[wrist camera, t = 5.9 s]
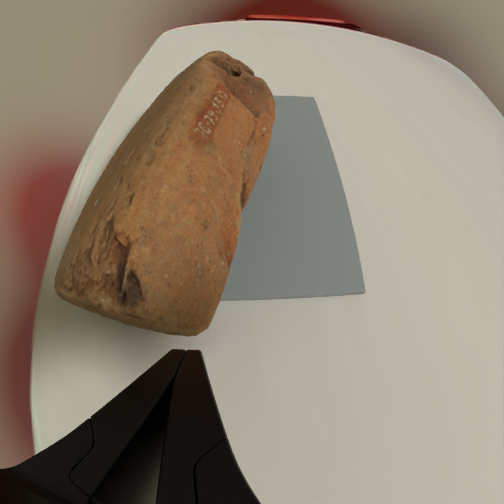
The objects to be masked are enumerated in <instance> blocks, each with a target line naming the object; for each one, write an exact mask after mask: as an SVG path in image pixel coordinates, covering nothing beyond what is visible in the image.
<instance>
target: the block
mask: <svg viewBox="0 0 504 504" xmlns="http://www.w3.org/2000/svg"><path fill="white" fill-rule="evenodd" d="M275 115H276V112H275V101H274V99H273V95H272V93H271V90H270V89H269V87H268V86H267V84H266V82H265V81H264V80H263V79H262V78H258V77H256V76H254V72H253V71H252V70H251V69H250V68H249V67H248V66H246V65H245V64H244V63H242V62H241V61H239V60H237V59H234V58H232V57H231V56H229V55H228V54H226V53H224V52H222V51H212V52H209V53H207V54H205V55H204V56H202V57H201V58H199V59H198V60H196V61H195V62H194V63H192V64H191V65H190V66H189V67H188V68H186V69H185V70H184V71H183V72H181V73H180V74H179V75H177V76H176V77H175V78H174V79H173V80H172V81H171V82H170V83H169V85H168V86H167V87H166V88H165V89H164V90H163V91H162V92H161V93H160V95H159V96H158V97H157V98H156V99H155V101H154V102H153V103H152V105H151V106H150V107H149V108H148V109H147V110H146V112H145V113H144V114H143V115H142V117H141V118H140V119H139V121H138V122H137V123H136V124H135V126H134V127H133V128H132V130H131V131H130V132H129V134H128V135H127V136H126V138H125V139H124V141H123V142H122V144H121V145H120V146H119V148H118V149H117V151H116V152H115V154H114V156H113V157H112V159H111V160H110V162H109V163H108V165H107V167H106V168H105V170H104V172H103V174H102V175H101V177H100V179H99V180H98V182H97V184H96V186H95V187H94V189H93V191H92V193H91V195H90V196H89V198H88V200H87V202H86V204H85V206H84V208H83V211H82V213H81V215H80V217H79V219H78V221H77V223H76V225H75V227H74V229H73V232H72V234H71V236H70V239H69V241H68V244H67V246H66V249H65V251H64V254H63V257H62V259H61V262H60V265H59V268H58V271H57V275H56V278H55V285H54V287H55V291H56V293H57V295H58V296H59V297H61V298H62V299H63V300H66V301H68V302H69V303H72V304H74V305H76V306H79V307H82V308H84V309H86V310H89V311H92V312H94V313H97V314H99V315H102V316H105V317H107V318H110V319H114V320H116V321H119V322H122V323H125V324H129V325H133V326H136V327H140V328H144V329H147V330H152V331H156V332H161V333H165V334H171V335H183V336H196V335H198V334H199V333H201V332H202V331H204V330H206V329H207V328H208V327H209V325H210V323H211V321H212V319H213V316H214V314H215V311H216V308H217V306H218V304H219V302H220V299H221V297H222V294H223V291H224V289H225V285H226V282H227V278H228V274H229V271H230V265H231V263H232V260H233V257H234V254H235V250H236V246H237V242H238V235H239V231H240V228H241V212H242V210H243V208H244V207H245V206H246V204H247V201H248V200H249V197H250V194H251V193H252V191H253V189H254V185H255V182H256V180H257V178H258V176H259V174H260V171H261V169H262V166H263V163H264V159H265V156H266V153H267V150H268V146H269V143H270V139H271V135H272V127H273V124H274V120H275Z"/></svg>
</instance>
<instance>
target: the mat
mask: <svg viewBox="0 0 504 504" xmlns="http://www.w3.org/2000/svg"><path fill="white" fill-rule="evenodd" d="M273 99H274V101H275V112H276V115H275V120H274V124H273V127H272V135H271V139H270V143H269V146H268V150H267V153H266V156H265V159H264V163H263V166H262V169H261V171H260V174H259V176H258V178H257V180H256V182H255V185H254V189H253V191H252V193H251V194H250V197H249V200H248V201H247V204H246V206H245V207H244V208H243V210H242V212H241V228H240V231H239V235H238V242H237V246H236V250H235V254H234V257H233V260H232V263H231V265H230V271H229V274H228V278H227V282H226V285H225V289H224V291H223V294H222V297H221V299H220V301H223V300H263V299H288V298H307V297H324V296H339V295H353V294H364V293H365V286H364V280H363V275H362V269H361V264H360V258H359V253H358V248H357V244H356V239H355V234H354V230H353V226H352V221H351V217H350V213H349V209H348V205H347V201H346V197H345V193H344V189H343V186H342V182H341V178H340V175H339V171H338V168H337V165H336V161H335V158H334V155H333V151H332V148H331V145H330V142H329V139H328V136H327V133H326V130H325V127H324V124H323V121H322V118H321V115H320V113H319V110H318V107H317V104H316V102H315V99H314V97H298V96H273Z"/></svg>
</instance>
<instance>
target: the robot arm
mask: <svg viewBox="0 0 504 504" xmlns="http://www.w3.org/2000/svg"><path fill="white" fill-rule="evenodd" d="M0 504H261V503H260V502H259V500H258V499H257V497H256V496H255V494H254V492H253V491H252V489H251V488H250V486H249V484H248V483H247V481H246V479H245V477H244V475H243V474H242V472H241V470H240V468H239V466H238V463H237V461H236V459H235V456H234V454H233V451H232V449H231V446H230V443H229V440H228V439H227V435H226V432H225V429H224V426H223V423H222V420H221V417H220V413H219V410H218V407H217V404H216V401H215V397H214V394H213V391H212V387H211V384H210V381H209V377H208V374H207V370H206V366H205V363H204V359H203V355H202V352H201V351H200V350H187V351H186V350H181V349H172V350H170V351H169V352H168V353H167V354H166V355H165V356H163V357H162V358H161V359H160V360H159V361H157V362H156V363H155V364H154V365H153V366H152V367H150V368H149V369H148V370H147V371H146V372H144V373H143V374H142V375H141V376H140V377H138V378H137V379H136V380H135V381H134V382H132V383H131V384H130V385H129V386H128V387H126V388H125V389H124V390H123V391H122V392H120V393H119V394H118V395H117V396H116V397H114V398H113V399H112V400H111V401H109V402H108V403H107V404H106V405H105V406H103V407H102V408H101V409H100V410H98V411H97V412H96V413H95V414H94V415H92V416H91V419H87V420H86V421H85V422H83V423H82V424H81V425H80V426H78V427H77V428H76V429H74V430H73V431H72V432H70V433H69V434H68V435H66V436H65V437H63V438H62V439H60V440H59V441H57V442H56V443H54V444H53V445H51V446H49V447H48V448H46V449H44V450H43V451H41V452H39V453H38V454H36V455H34V456H33V457H31V458H29V459H27V460H26V461H24V462H22V463H20V464H18V465H16V466H14V467H10V468H6V469H0Z"/></svg>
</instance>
